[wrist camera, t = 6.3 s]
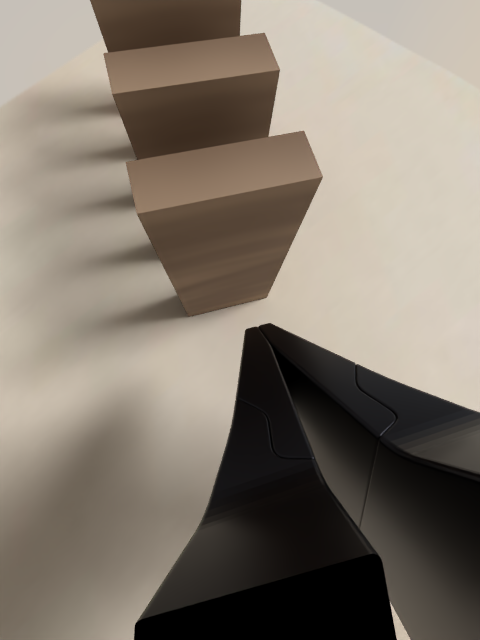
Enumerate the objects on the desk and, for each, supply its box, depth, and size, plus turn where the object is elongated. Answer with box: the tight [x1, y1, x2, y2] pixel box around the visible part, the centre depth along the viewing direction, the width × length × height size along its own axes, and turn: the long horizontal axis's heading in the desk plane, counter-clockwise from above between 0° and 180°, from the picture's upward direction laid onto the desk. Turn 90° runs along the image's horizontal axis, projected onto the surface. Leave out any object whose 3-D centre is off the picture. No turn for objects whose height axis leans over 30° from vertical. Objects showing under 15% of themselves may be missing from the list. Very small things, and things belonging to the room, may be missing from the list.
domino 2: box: [104, 33, 280, 160], centre depth 13 cm, size 2×5×10 cm, turn 105°
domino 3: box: [90, 0, 241, 53], centre depth 14 cm, size 2×5×10 cm, turn 106°
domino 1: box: [126, 131, 323, 317], centre depth 12 cm, size 2×5×10 cm, turn 106°
